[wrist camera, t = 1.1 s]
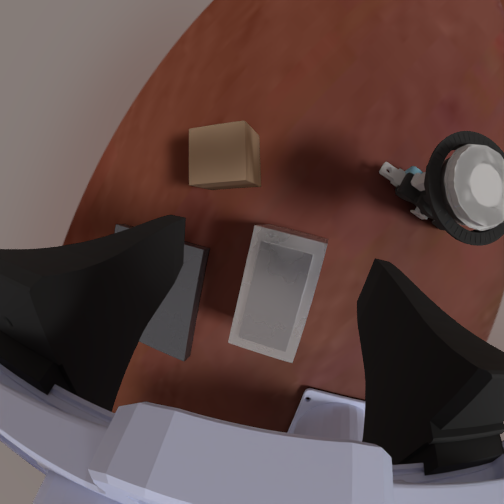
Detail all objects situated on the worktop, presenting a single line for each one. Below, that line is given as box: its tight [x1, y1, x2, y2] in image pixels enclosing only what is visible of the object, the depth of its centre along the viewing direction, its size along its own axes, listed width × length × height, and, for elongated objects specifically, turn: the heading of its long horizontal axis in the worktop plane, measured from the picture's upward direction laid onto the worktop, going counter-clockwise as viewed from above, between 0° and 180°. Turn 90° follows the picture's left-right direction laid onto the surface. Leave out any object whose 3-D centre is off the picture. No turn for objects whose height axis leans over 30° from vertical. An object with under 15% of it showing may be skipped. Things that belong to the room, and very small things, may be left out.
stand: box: [115, 224, 210, 361], centre depth 25 cm, size 10×9×1 cm
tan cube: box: [189, 121, 261, 190], centre depth 21 cm, size 4×4×4 cm
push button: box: [379, 131, 504, 245], centre depth 14 cm, size 7×5×10 cm
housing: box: [228, 224, 328, 363], centre depth 20 cm, size 8×4×5 cm, turn 167°
